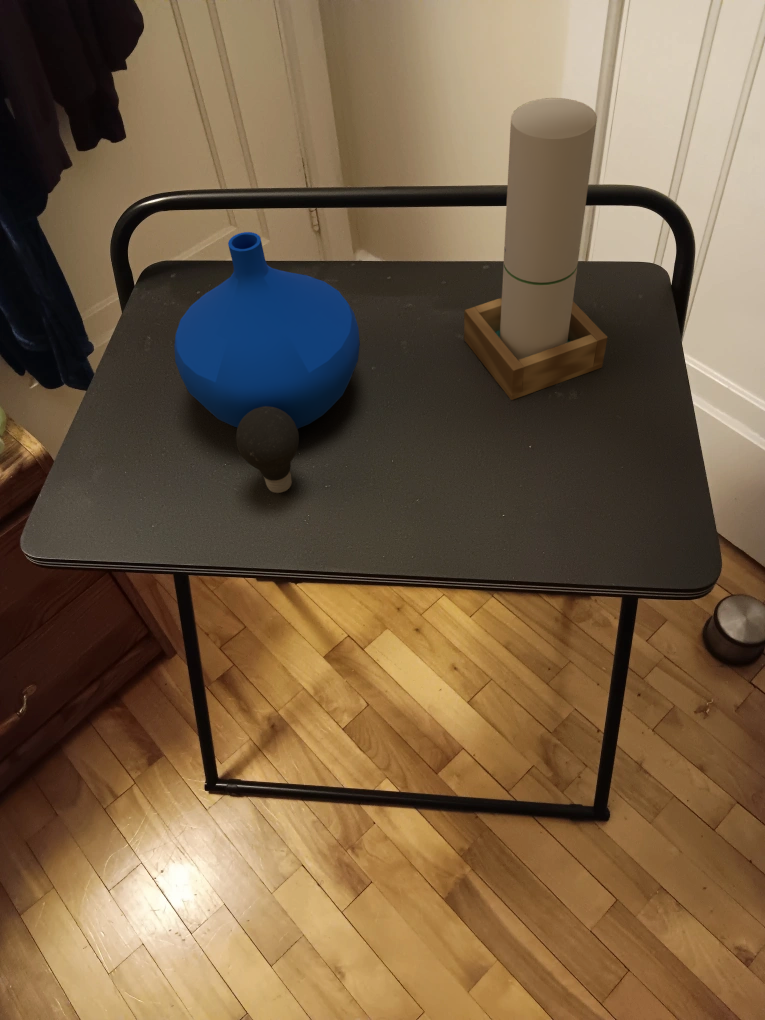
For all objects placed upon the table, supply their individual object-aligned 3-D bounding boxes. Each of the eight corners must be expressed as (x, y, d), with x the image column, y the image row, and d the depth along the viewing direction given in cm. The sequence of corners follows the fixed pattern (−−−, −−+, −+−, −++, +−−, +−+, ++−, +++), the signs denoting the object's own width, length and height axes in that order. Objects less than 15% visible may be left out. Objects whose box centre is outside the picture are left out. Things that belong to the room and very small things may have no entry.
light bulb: (252, 470, 82) (230, 396, 74) (308, 463, 82) (292, 389, 74) (251, 514, 78) (229, 442, 71) (310, 507, 78) (294, 434, 71)
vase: (200, 350, 94) (152, 196, 79) (360, 334, 94) (342, 176, 79) (188, 471, 82) (129, 317, 68) (371, 452, 82) (352, 294, 67)
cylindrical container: (565, 326, 91) (594, 96, 71) (567, 370, 87) (599, 138, 67) (499, 326, 92) (511, 98, 72) (498, 369, 87) (510, 139, 68)
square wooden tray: (549, 310, 94) (552, 280, 91) (602, 367, 88) (607, 337, 84) (463, 339, 92) (464, 309, 89) (511, 400, 86) (513, 370, 82)
